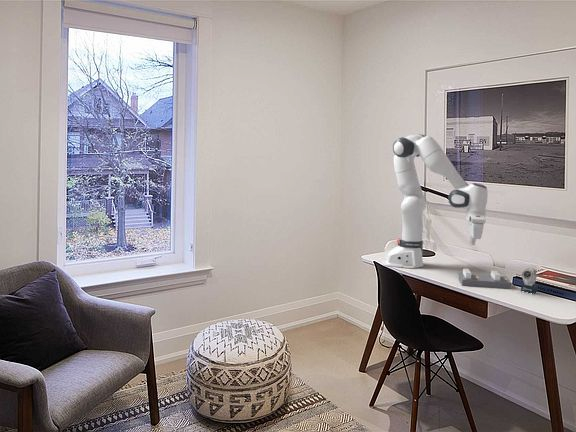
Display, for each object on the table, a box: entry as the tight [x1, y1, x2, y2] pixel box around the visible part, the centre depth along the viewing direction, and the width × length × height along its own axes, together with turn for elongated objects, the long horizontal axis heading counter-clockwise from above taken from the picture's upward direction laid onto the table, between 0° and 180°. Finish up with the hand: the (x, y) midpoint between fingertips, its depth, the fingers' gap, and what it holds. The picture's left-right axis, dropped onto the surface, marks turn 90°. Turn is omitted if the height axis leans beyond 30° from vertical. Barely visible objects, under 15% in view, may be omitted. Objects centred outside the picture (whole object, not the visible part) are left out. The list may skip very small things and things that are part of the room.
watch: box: [520, 267, 539, 295], centre depth 225 cm, size 6×8×11 cm
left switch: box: [462, 268, 472, 279], centre depth 239 cm, size 2×9×3 cm, turn 169°
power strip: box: [457, 272, 513, 290], centre depth 238 cm, size 22×12×3 cm, turn 79°
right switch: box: [490, 270, 501, 281], centre depth 236 cm, size 2×9×3 cm, turn 169°
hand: (472, 244), depth 242 cm, fingers closed
